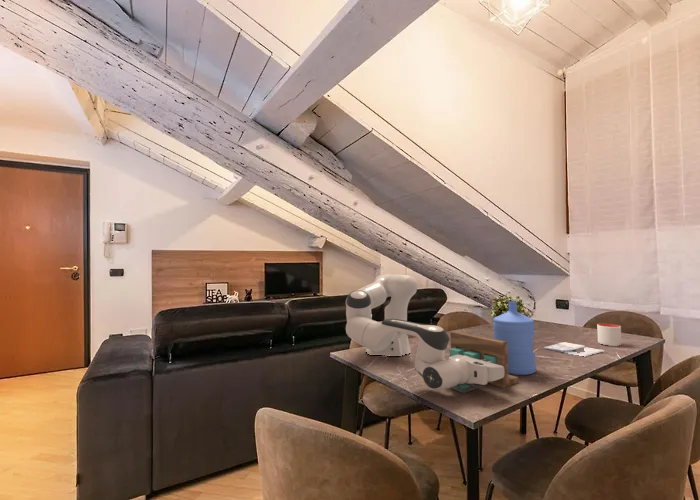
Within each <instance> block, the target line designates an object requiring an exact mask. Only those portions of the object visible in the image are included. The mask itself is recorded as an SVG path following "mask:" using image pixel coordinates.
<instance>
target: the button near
mask: <svg viewBox="0 0 700 500" xmlns="http://www.w3.org/2000/svg"><path fill="white" fill-rule="evenodd" d="M484 359H485V360H489V361H492V363H493V364H497V356H493V355H489V354H486V355H484Z"/></svg>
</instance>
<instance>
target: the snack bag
mask: <svg viewBox="0 0 700 500" xmlns="http://www.w3.org/2000/svg"><path fill="white" fill-rule="evenodd" d="M543 348H544V350H548V351H553V352H558V353H562V354H565V353H568V354H567V355H571V354H573V355H572V356H575V355H579V356H578V357H580V356H584V357H583V358H587V357H586V356H588V355H592V354H596V353H599V352H604V351H606V350H605V349H600V348H599V349H597V348H592V347H587V346H586V345H584V344H577V343H570V342H566V341H564V342H563V341H562V342H559V343H555V344H552V345H551V344H550V345H548V346H547V345H546V346H544V347H543ZM580 348H584V351H585V352H580V353H577V352H569V351H573V350H574V351H578V350H577V349H580ZM606 352H607V351H606ZM604 353H605V352H604ZM599 354H600V353H599ZM596 355H597V354H596ZM592 356H593V355H592ZM588 357H589V356H588Z"/></svg>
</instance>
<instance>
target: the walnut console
mask: <svg viewBox="0 0 700 500" xmlns="http://www.w3.org/2000/svg"><path fill="white" fill-rule="evenodd" d="M449 333H450V334H449V335H450V349H452V348H456V347H460V348H464V349H466V352H468V351H472V350H473V351H477V352H481V360H484V355H486V354H489V355H493V356H497V365H501V366H503V367H504V377H503V378H501V379H499V380H496V381H492V382H487V384H491V385H495V386H497V387H500V388H506V387H509V386H512V385H516V384H519V377H518V376H517V375H513V374H508V349H507V341H502V340H497V339H494V338H491V337H487V336H482V335H476V334H472V333H471V334H470V333H466V332H462V331H457V330H455V331H450V332H449Z"/></svg>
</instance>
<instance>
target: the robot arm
mask: <svg viewBox="0 0 700 500" xmlns="http://www.w3.org/2000/svg"><path fill="white" fill-rule="evenodd" d="M418 287H419V286H418V281H417V279H416V278H415V277H414V276H412V275H408V274H400V273H396V274H395V273H385V274H380V275H378V276H376V277H375V279H374V281H373V282H372V283H369V284H367V285H365V286H363V287H360V288H359V289H357V290H353V291H351V292H350V293H348V295H347V297H346V299H345V306H346V307H345V308H346V309H345V317H346V324H345V333H346V335H347V337H348V338H350V339H351V340H352V341H354V342H355V343H357V344H358V345H360V346H361V347H364V348H365V353H366V352H371V353H368V354H373V355H390V356H401V357H402V355H403V356H406V355H405V354H407V355H410V354H411V353H412V351H411V347H410V343H409V336H413V337H416V338H417V339H418V341H417V342H418V344H417V349H416V354H415V358H414V369H415V371H416V372H417V373H418V375H419V376H420V377H422V379H423V381H424V383H425V384H426V386H427V387H429V388H430V389H433V390H446V389H451V387H454V386H456V385H457V384H464V383H467V384H469V383H470V384H473V385H482V386H485V385H488V383H487V382H492V381H496V380H499V379H501V378H503V377H504V367H503V366H501V365H497V364H493V363H492V361H489V360H485V359H484V360H478V359H475V358H471V357H468V356H463V355H454V356H451V357H450V356H449V357H448V359H446V358H445V356H446V351H447V348H448V345H449V341H450V336H449V334H448V333H447V331H446V330H445V329H444V328H443V326H442V327H441V326H438V325H433V324H427V323H426V324H424V323H419V322H413V321H410V320H409V321H408V308H409V307H408V306H409V303H410V300H411V299H412V297H413V296H414V295H416V293H417V292H418V291H417V290H418ZM388 297H391V299H390V300H389V301H390V302H389V303H388V304H387V305H386V306H385V307H384V319H383V321H381V322H380V321H376V320H374V319H372V318H373V314H372V309H374V308H377V307H379V306H381V305H383V304H384V303H385V302H386V300H387V298H388ZM367 348H368V349H367ZM409 353H410V354H409Z"/></svg>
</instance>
